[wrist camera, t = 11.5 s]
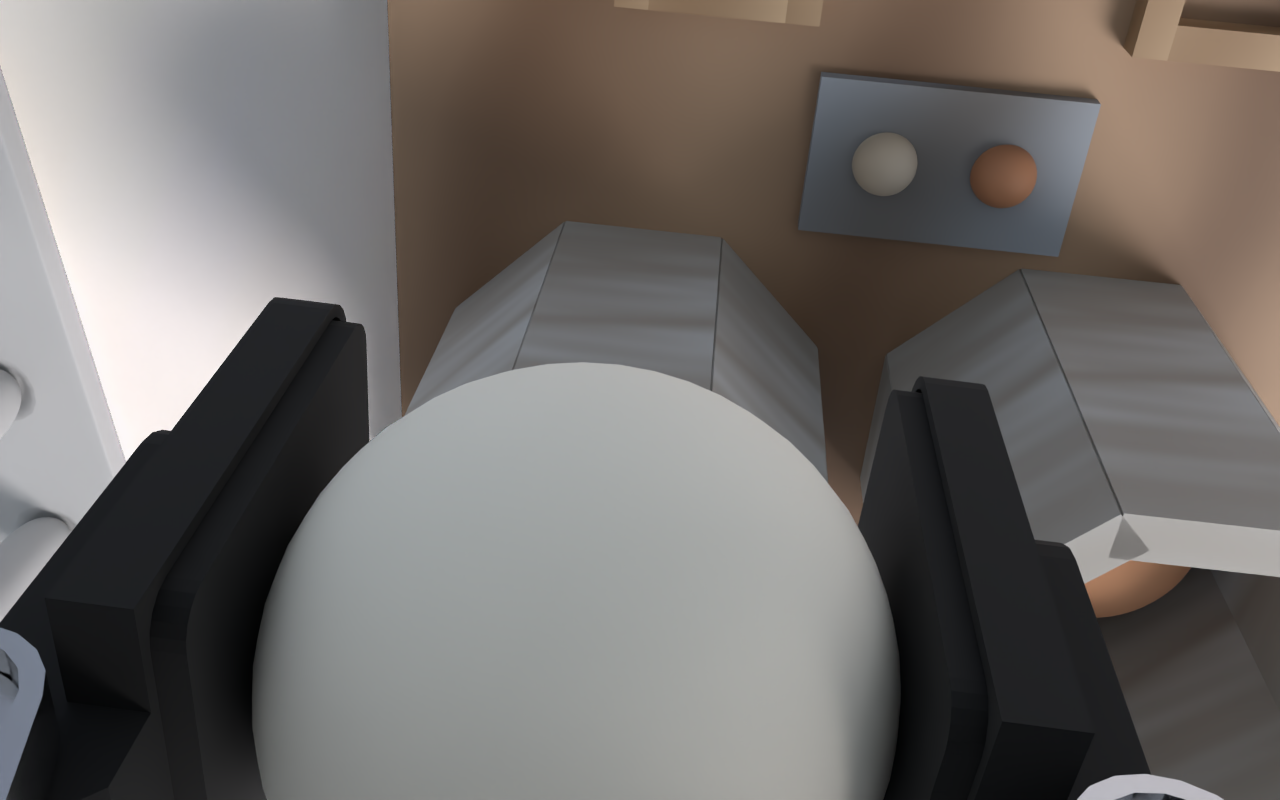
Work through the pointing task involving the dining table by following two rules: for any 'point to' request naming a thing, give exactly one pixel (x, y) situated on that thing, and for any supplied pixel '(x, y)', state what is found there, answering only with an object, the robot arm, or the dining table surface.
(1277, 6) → the stand
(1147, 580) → the ball terracotta
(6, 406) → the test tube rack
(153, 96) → the dining table surface
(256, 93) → the dining table surface
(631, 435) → the ball cream
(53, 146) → the dining table surface
